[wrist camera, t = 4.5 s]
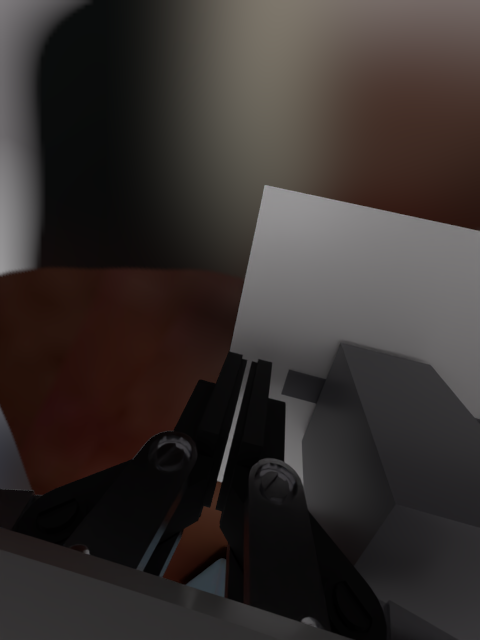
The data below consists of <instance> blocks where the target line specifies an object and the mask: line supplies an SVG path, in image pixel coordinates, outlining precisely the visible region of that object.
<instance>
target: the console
mask: <svg viewBox="0 0 480 640" xmlns="http://www.w3.org/2000/svg"><path fill="white" fill-rule="evenodd" d="M340 343H345V344H349V345H353V346H357V347H361V348H365V349H369V350H373V351H377V352H381V353H385V354H389V355H393V356H397V357H401V358H405V359H409V360H413V361H417V362H421V363H425V364H429V365H431V366H432V367H433V368H434V370H435V371H436V372H437V373H438V374H439V376H440V377H441V378H442V379H443V380H444V382H445V383H446V384H447V385H448V386H449V388H450V389H451V390H452V391H453V392H454V394H455V395H456V396H457V397H458V398H459V400H460V401H461V402H462V403H463V404H464V406H465V407H466V408H467V409H468V410H469V412H470V413H471V414H472V415H473V416H474V418H475V419H476V420H477V421H478V422H479V424H480V231H477V230H472V229H467V228H463V227H458V226H454V225H449V224H444V223H440V222H435V221H430V220H425V219H421V218H416V217H411V216H407V215H403V214H398V213H393V212H389V211H384V210H379V209H374V208H370V207H365V206H361V205H356V204H351V203H347V202H342V201H337V200H333V199H328V198H323V197H319V196H314V195H310V194H305V193H300V192H296V191H291V190H286V189H281V188H276V187H272V186H267V185H265V186H264V191H263V197H262V201H261V205H260V210H259V215H258V220H257V225H256V230H255V234H254V239H253V244H252V248H251V253H250V258H249V262H248V267H247V272H246V276H245V281H244V286H243V291H242V295H241V300H240V305H239V310H238V314H237V319H236V324H235V329H234V333H233V338H232V343H231V348H230V352H234V353H238V354H242V355H243V357H242V359H246V360H247V364H246V368H245V373H244V377H243V381H242V385H241V389H240V393H239V397H238V401H237V405H236V410H235V414H234V418H233V422H232V426H231V429H230V433H229V437H228V441H227V445H226V448H225V452H224V456H223V460H222V464H221V468H220V471H219V475H218V479H217V481H220V482H222V481H223V476H224V472H225V468H226V464H227V460H228V456H229V452H230V448H231V443H232V439H233V435H234V431H235V427H236V423H237V419H238V415H239V411H240V407H241V403H242V399H243V395H244V391H245V387H246V383H247V379H248V375H249V371H250V367H251V363H252V361H253V362H258V359H261V360H265V361H269V362H272V371H271V380H270V389H269V398H271V399H275V400H279V401H283V402H285V403H286V417H285V456H284V462H285V463H286V464H288V465H290V466H291V467H292V468H293V469H294V470H295V471H296V472H297V474H298V475H299V477H300V478H301V481H302V484H303V463H302V439H303V436H304V434H305V431H306V429H307V426H308V424H309V421H310V419H311V416H312V414H313V411H314V409H315V406H316V404H317V401H318V399H319V396H320V393H321V391H322V388H323V386H324V383H325V381H326V378H327V376H328V373H329V371H330V368H331V366H332V363H333V361H334V358H335V356H336V353H337V350H338V348H339V345H340Z"/></svg>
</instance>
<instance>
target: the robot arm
mask: <svg viewBox="0 0 480 640" xmlns="http://www.w3.org/2000/svg"><path fill="white" fill-rule="evenodd" d="M242 357H243V355H242V354H238V353H234V352H230V351H229V353H228V355H227V358H226V360H225V363H224V365H223V367H222V370H221V372H220V375H219V377H218V380H217V382H216V384H215V383H211V382H208V381H204V380H199V381H198V383H197V385H196V387H195V389H194V391H193V393H192V395H191V397H190V399H189V401H188V403H187V405H186V407H185V409H184V411H183V413H182V415H181V417H180V419H179V421H178V423H177V425H176V427H175V429H174V431H166V432H161V433H159V434H157V435H155V436H153V437H152V438H151V439H149V440H148V441H147V442H146V444H145V445H144V446H143V447H142V448H141V450H140V451H139V452H138V453H137V455H136V456H135V457H134V458H133V459H132V460H129V461H127V462H124V463H121V464H119V465H116V466H114V467H111V468H108V469H106V470H103V471H101V472H98V473H95V474H93V475H90V476H87V477H85V478H82V479H80V480H77V481H74V482H72V483H69V484H67V485H64V486H61V487H59V488H56V489H54V490H52V491H50V492H48V493H46V494H44V495H35V492H34V491H33V490H11V489H0V640H458V639H456V638H455V637H453V636H451V635H449V634H448V633H446V632H444V631H443V630H441V629H439V628H437V627H436V626H434V625H432V624H430V623H429V622H427V621H425V620H423V619H422V618H420V617H418V616H417V615H415V614H413V613H411V612H410V611H408V610H406V609H404V608H403V607H401V606H399V605H398V604H396V603H394V602H392V601H391V600H389V601H388V602H387V603H385V602H383V601H381V600H380V599H378V598H377V596H376V595H375V593H374V592H373V590H372V589H371V587H370V586H369V584H368V583H367V582H366V581H365V580H364V578H363V577H362V576H361V575H360V573H359V572H358V571H357V570H356V568H355V567H354V566H353V565H352V564H351V562H350V561H349V560H348V559H347V557H346V556H345V555H344V554H343V552H342V551H341V550H340V549H339V548H338V546H337V545H336V544H335V543H334V541H333V540H332V539H331V538H330V536H329V535H328V534H327V533H326V532H325V530H324V529H323V528H322V527H321V525H320V524H319V523H318V522H317V520H316V519H315V518H314V517H313V516H312V514H311V513H310V512H309V511H308V508H307V503H306V498H305V493H304V487H303V484H302V481H301V478H300V477H299V475H298V474H297V472H296V471H295V470H294V469H293V468H292V467H291V466H290V465H288V464H286V463H285V462H284V456H285V417H286V403H285V402H283V401H279V400H275V399H271V398H269V389H270V380H271V371H272V362H269V361H265V360H261V359H258V362H253V361H252V363H251V367H250V371H249V375H248V379H247V383H246V387H245V391H244V395H243V399H242V403H241V407H240V411H239V415H238V419H237V423H236V427H235V431H234V435H233V439H232V443H231V448H230V452H229V456H228V460H227V464H226V468H225V472H224V476H223V481H222V485H221V489H220V493H219V497H218V501H217V505H216V510H219V511H222V514H221V519H220V529H221V530H222V532H223V534H224V536H225V538H226V539H227V541H228V545H227V553H226V572H225V592H224V597H221V596H218V595H215V594H212V593H208V592H205V591H202V590H199V589H196V588H193V587H190V586H187V585H183V584H180V583H177V582H174V581H171V580H168V579H165V578H162V576H163V574H164V572H165V570H166V568H167V566H168V564H169V562H170V560H171V558H172V556H173V553H174V551H175V549H176V547H177V545H178V543H179V541H180V539H181V537H182V534H183V531H184V528H186V527H188V526H189V525H191V524H193V523H195V522H196V521H198V519H199V517H200V516H201V512H202V509H203V506H206V507H209V508H210V506H211V502H212V498H213V494H214V491H215V487H216V483H217V479H218V475H219V471H220V468H221V464H222V460H223V456H224V452H225V448H226V445H227V441H228V437H229V433H230V429H231V426H232V422H233V418H234V414H235V410H236V405H237V401H238V397H239V393H240V389H241V385H242V381H243V377H244V373H245V368H246V364H247V360H246V359H242Z"/></svg>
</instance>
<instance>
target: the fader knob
mask: <svg viewBox="0 0 480 640" xmlns="http://www.w3.org/2000/svg"><path fill="white" fill-rule="evenodd" d="M302 463H303V487H304V493H305V498H306V503H307V508H308V511H309V512H310V513H311V514H312V516H313V517H314V518H315V519H316V520H317V522H318V523H319V524H320V525H321V527H322V528H323V529H324V530H325V532H326V533H327V534H328V535H329V536H330V538H331V539H332V540H333V541H334V543H335V544H336V545H337V546H338V548H339V549H340V550H341V551H342V552H343V554H344V555H345V556H346V557H347V559H348V560H349V561H350V562H351V564H352V565H353V566H354V567H355V568H356V570H357V571H358V572H359V573H360V575H361V576H362V577H363V578H364V580H365V581H366V582H367V583H368V584H369V586H370V587H371V589H372V590H373V592H374V593H375V595H376V596H377V598H378V599H380V600H381V601H383V602H385V603H387V602H388V601H389V600H391V601H392V602H394V603H396V604H398V605H399V606H401V607H403V608H404V609H406V610H408V611H410V612H411V613H413V614H415V615H417V616H418V617H420V618H422V619H423V620H425V621H427V622H429V623H430V624H432V625H434V626H436V627H437V628H439V629H441V630H443V631H444V632H446V633H448V634H449V635H451V636H453V637H455V638H456V639H458V640H480V424H479V422H478V421H477V420H476V419H475V418H474V416H473V415H472V414H471V413H470V412H469V410H468V409H467V408H466V407H465V406H464V404H463V403H462V402H461V401H460V400H459V398H458V397H457V396H456V395H455V394H454V392H453V391H452V390H451V389H450V388H449V386H448V385H447V384H446V383H445V382H444V380H443V379H442V378H441V377H440V376H439V374H438V373H437V372H436V371H435V370H434V368H433V367H432V366H431V365H429V364H425V363H421V362H417V361H413V360H409V359H405V358H401V357H397V356H393V355H389V354H385V353H381V352H377V351H373V350H369V349H365V348H361V347H357V346H353V345H349V344H345V343H340V345H339V348H338V350H337V353H336V356H335V358H334V361H333V363H332V366H331V368H330V371H329V373H328V376H327V378H326V381H325V383H324V386H323V388H322V391H321V393H320V396H319V399H318V401H317V404H316V406H315V409H314V411H313V414H312V416H311V419H310V421H309V424H308V426H307V429H306V431H305V434H304V436H303V439H302Z"/></svg>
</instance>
